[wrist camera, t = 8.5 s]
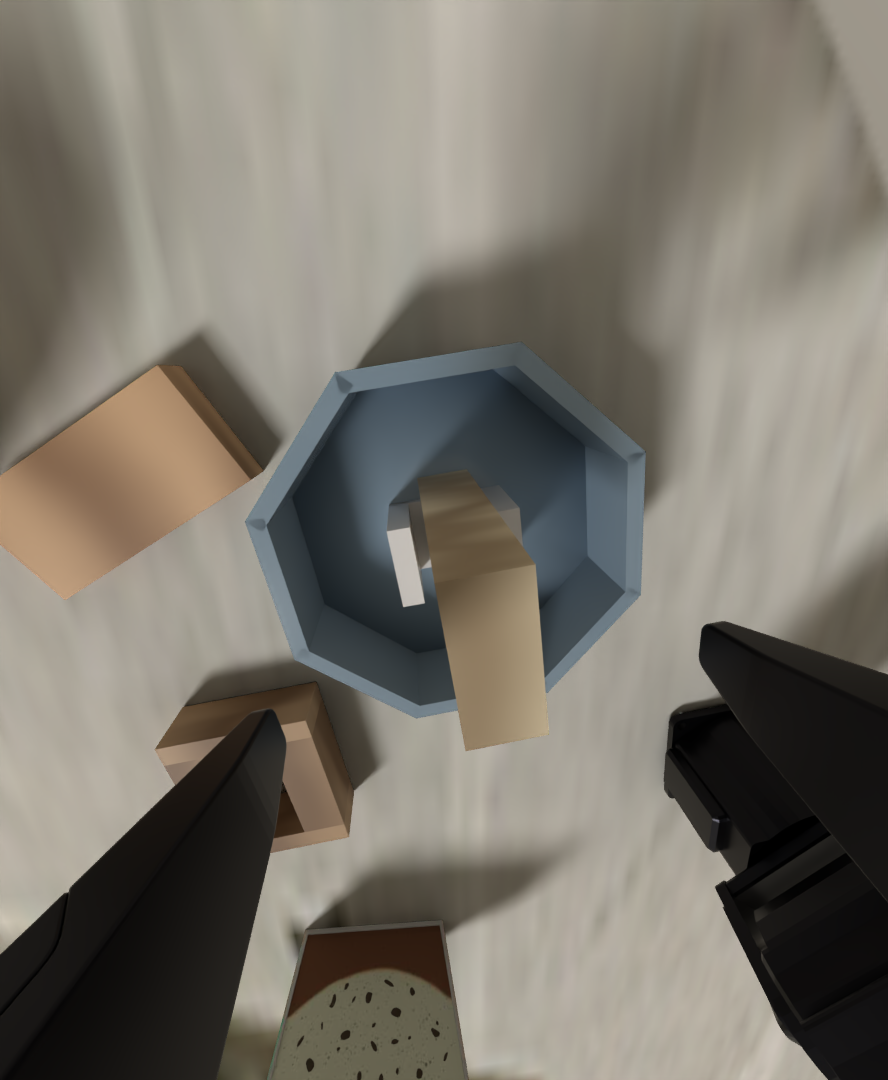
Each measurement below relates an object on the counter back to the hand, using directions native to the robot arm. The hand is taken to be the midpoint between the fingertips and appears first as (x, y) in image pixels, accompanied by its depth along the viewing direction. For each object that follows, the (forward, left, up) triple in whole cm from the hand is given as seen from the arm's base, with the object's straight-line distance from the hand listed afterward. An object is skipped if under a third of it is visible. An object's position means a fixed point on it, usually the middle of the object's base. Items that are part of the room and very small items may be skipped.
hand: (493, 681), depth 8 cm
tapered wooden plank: (+12, -4, -11) cm, 16 cm away
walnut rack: (+11, +11, -10) cm, 19 cm away
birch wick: (0, 0, -9) cm, 9 cm away
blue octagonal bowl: (0, 0, -10) cm, 10 cm away
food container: (+10, +31, -11) cm, 34 cm away
